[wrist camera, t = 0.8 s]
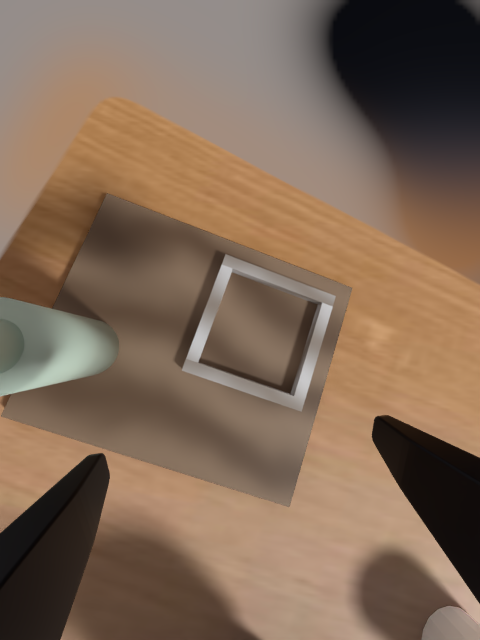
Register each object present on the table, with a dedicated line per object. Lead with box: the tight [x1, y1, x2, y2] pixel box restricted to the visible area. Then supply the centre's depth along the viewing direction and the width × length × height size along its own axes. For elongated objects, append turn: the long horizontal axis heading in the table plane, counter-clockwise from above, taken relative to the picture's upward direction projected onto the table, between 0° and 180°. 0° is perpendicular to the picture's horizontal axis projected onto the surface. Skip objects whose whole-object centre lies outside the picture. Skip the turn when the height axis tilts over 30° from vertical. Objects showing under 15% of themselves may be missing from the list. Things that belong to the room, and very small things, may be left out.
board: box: [1, 193, 352, 507], centre depth 21 cm, size 20×24×2 cm
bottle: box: [0, 297, 119, 396], centre depth 14 cm, size 5×5×12 cm
